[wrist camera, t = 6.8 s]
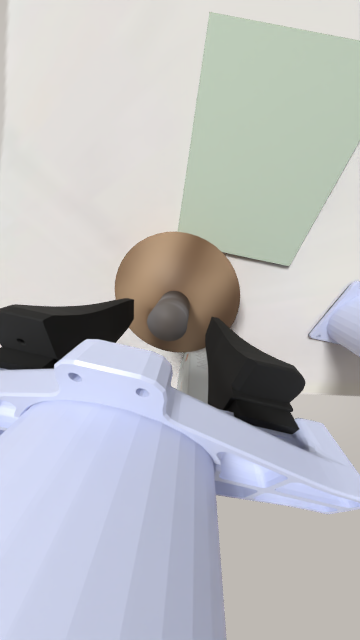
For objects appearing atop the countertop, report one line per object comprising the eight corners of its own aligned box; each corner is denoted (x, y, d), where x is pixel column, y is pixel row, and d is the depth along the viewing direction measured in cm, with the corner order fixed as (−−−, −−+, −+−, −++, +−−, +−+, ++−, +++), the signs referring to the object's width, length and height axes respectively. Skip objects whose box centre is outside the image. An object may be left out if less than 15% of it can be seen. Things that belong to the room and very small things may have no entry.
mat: (402, 58, 9) (410, 50, 8) (287, 265, 15) (289, 266, 15) (209, 21, 9) (209, 12, 8) (176, 242, 15) (176, 242, 15)
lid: (257, 249, 12) (300, 251, 7) (213, 352, 19) (220, 391, 14) (121, 220, 12) (67, 201, 7) (124, 332, 19) (97, 363, 14)
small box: (210, 376, 25) (221, 480, 14) (179, 368, 25) (164, 465, 14) (228, 345, 21) (262, 455, 10) (190, 335, 21) (183, 434, 10)
